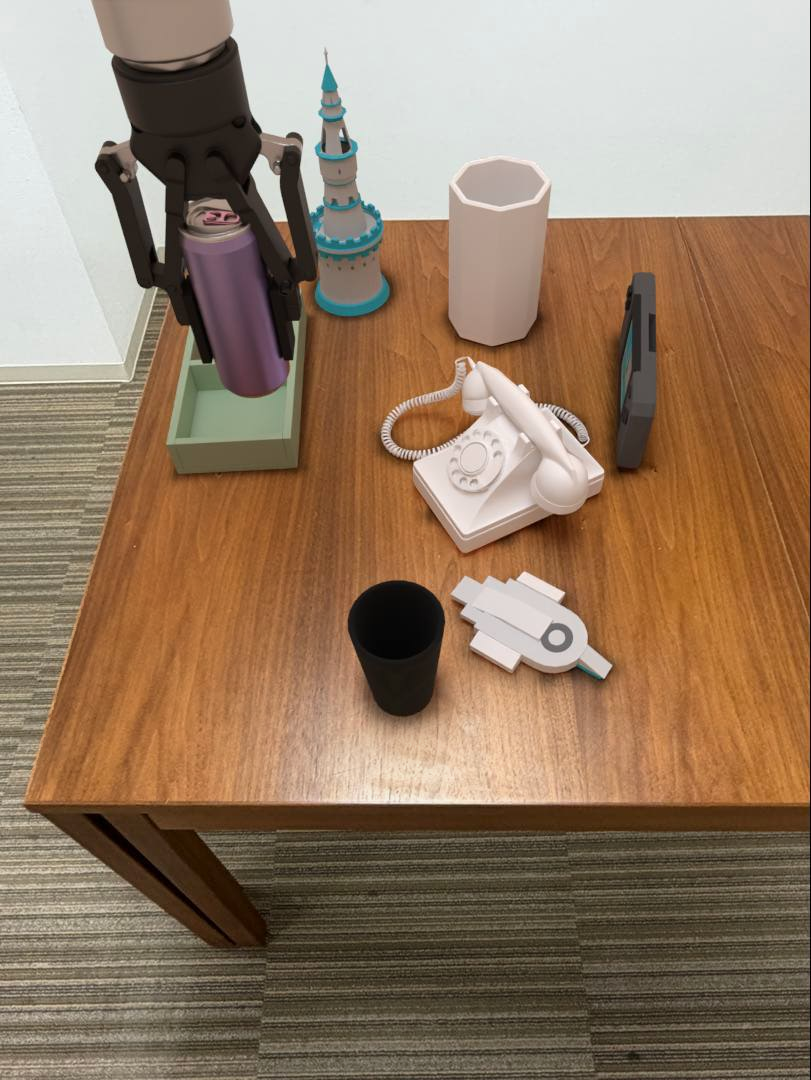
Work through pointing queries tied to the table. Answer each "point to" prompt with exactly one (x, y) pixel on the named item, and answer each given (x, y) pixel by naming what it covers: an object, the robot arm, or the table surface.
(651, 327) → the handheld gaming console
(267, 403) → the tray
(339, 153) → the model tower
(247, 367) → the beverage can
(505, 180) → the cup
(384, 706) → the cup
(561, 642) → the toy rocket
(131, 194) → the robot arm
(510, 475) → the telephone
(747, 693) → the table surface
